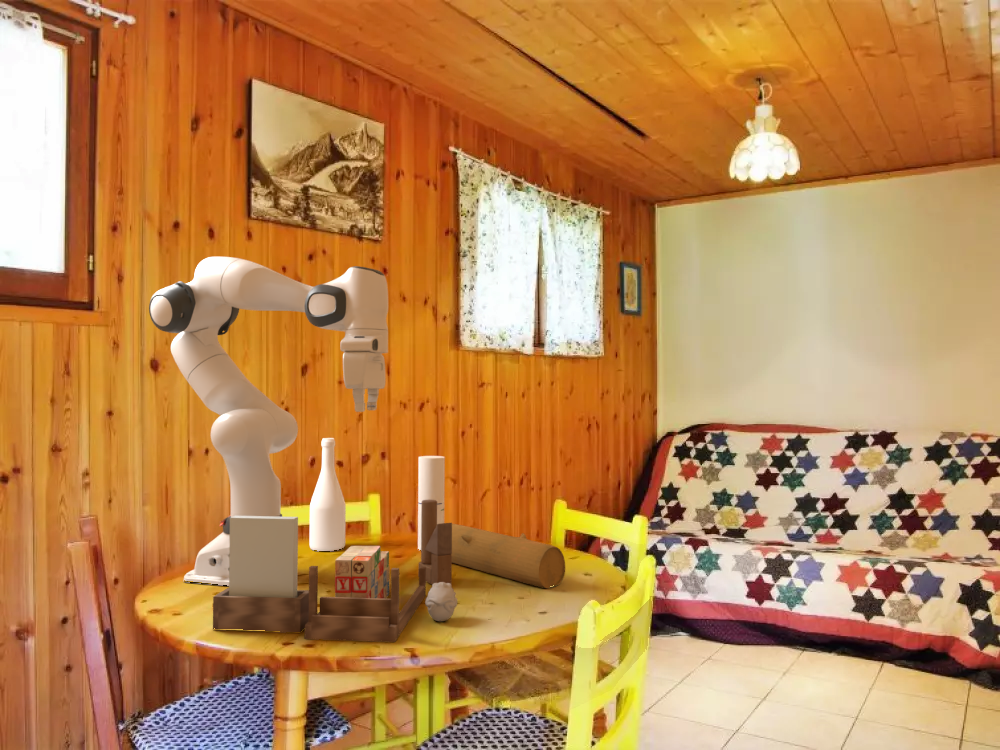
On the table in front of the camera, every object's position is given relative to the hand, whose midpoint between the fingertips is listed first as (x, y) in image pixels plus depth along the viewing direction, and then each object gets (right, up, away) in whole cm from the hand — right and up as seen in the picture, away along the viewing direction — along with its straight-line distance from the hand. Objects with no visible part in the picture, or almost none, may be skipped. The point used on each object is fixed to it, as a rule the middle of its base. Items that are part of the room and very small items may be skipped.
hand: (366, 411), depth 159 cm
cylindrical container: (+9, -40, +50) cm, 65 cm away
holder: (-16, -39, -18) cm, 46 cm away
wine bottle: (-19, -40, +49) cm, 66 cm away
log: (+26, -40, +24) cm, 54 cm away
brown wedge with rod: (+13, -40, +14) cm, 44 cm away
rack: (+3, -39, -12) cm, 41 cm away
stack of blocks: (+1, -39, -6) cm, 40 cm away
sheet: (-16, -39, -18) cm, 46 cm away
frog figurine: (+17, -39, -14) cm, 45 cm away
